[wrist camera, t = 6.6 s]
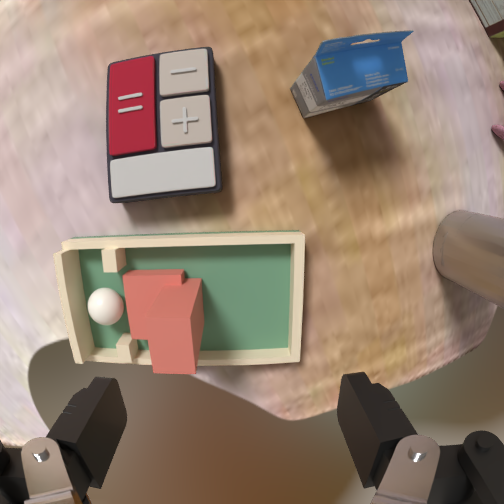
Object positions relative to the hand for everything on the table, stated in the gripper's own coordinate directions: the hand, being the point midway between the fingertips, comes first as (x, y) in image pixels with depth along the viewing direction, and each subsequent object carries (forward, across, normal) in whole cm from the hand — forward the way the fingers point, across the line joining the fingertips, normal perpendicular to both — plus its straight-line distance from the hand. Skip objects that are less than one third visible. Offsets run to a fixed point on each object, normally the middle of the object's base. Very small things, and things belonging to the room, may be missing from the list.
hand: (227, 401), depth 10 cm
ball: (+20, +14, +5) cm, 25 cm away
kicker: (+22, +7, +5) cm, 24 cm away
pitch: (+24, +6, +5) cm, 25 cm away
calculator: (+24, +7, -14) cm, 29 cm away
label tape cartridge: (+25, -11, -17) cm, 32 cm away
